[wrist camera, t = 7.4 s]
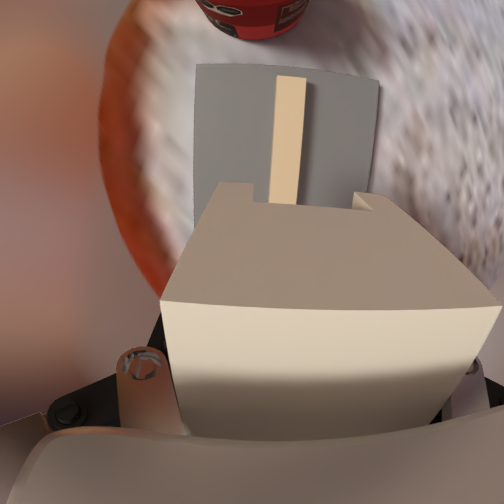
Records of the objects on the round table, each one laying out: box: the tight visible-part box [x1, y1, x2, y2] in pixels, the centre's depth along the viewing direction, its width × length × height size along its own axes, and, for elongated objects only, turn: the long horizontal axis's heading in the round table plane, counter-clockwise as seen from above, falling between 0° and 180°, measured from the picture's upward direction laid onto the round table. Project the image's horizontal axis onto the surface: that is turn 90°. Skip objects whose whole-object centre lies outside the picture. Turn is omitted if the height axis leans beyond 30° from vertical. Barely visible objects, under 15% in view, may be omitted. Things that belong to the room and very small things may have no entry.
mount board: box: [193, 64, 379, 229], centre depth 24 cm, size 14×20×3 cm
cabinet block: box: [160, 182, 503, 441], centre depth 9 cm, size 6×9×7 cm
